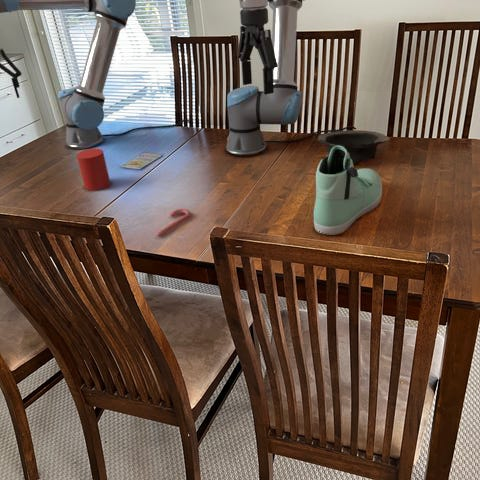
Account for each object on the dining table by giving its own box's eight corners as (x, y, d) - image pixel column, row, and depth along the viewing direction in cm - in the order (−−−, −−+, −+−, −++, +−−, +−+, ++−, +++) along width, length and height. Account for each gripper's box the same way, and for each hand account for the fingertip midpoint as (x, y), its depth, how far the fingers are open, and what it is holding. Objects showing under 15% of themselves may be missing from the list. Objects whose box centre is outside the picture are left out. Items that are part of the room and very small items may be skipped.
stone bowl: (346, 175, 157) (346, 148, 153) (303, 158, 178) (302, 133, 173) (403, 157, 166) (405, 130, 162) (356, 142, 186) (356, 118, 182)
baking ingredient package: (119, 165, 178) (143, 152, 189) (120, 167, 178) (143, 153, 189) (139, 168, 174) (162, 154, 185) (139, 169, 174) (162, 155, 186)
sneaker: (389, 187, 148) (396, 123, 138) (356, 242, 123) (361, 168, 112) (346, 181, 154) (350, 119, 144) (306, 232, 129) (307, 161, 118)
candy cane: (144, 233, 135) (143, 228, 134) (179, 210, 145) (179, 206, 144) (160, 238, 132) (159, 233, 131) (195, 214, 142) (194, 210, 141)
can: (80, 186, 166) (71, 154, 160) (101, 178, 171) (93, 146, 165) (94, 193, 161) (85, 160, 154) (115, 183, 166) (108, 151, 160)
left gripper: (-67, 42, 152) (-42, 109, 163) (16, 32, 159) (35, 96, 170) (-65, 40, 157) (-40, 104, 169) (16, 30, 165) (34, 92, 176)
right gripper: (222, 7, 137) (228, 82, 148) (263, 13, 117) (266, 100, 128) (245, 4, 140) (250, 78, 151) (289, 9, 120) (290, 95, 131)
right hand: (257, 88), depth 140 cm, fingers open, 13 cm apart
